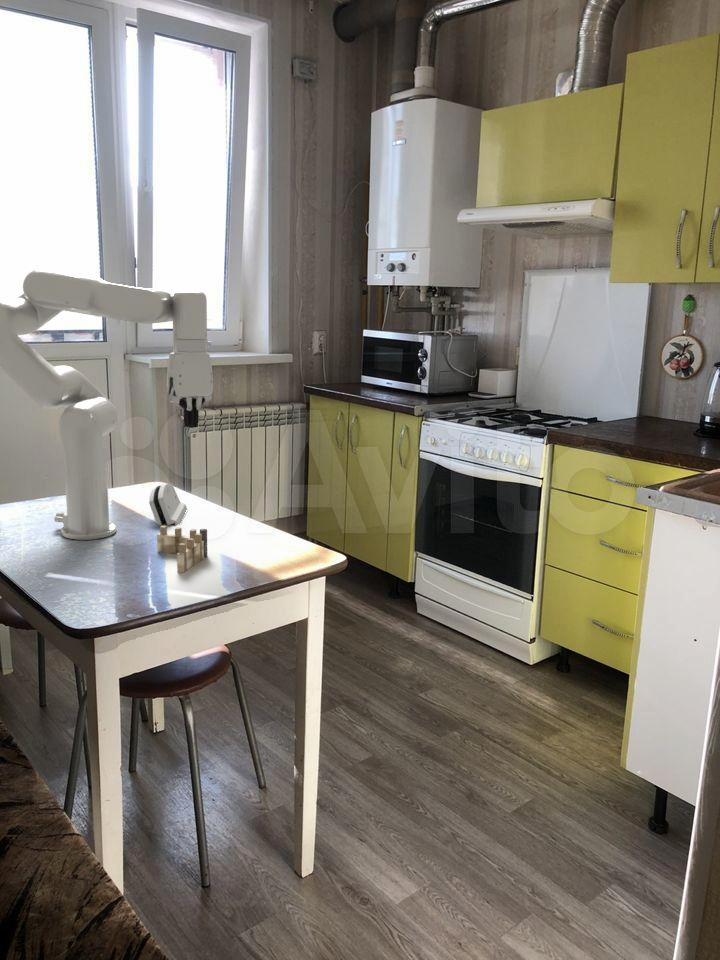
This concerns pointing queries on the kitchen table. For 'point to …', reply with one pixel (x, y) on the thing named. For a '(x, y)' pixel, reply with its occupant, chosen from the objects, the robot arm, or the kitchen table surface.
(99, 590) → the kitchen table surface
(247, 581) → the kitchen table surface
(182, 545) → the fence flap
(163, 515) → the black-banded white body
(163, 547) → the fence fixed
